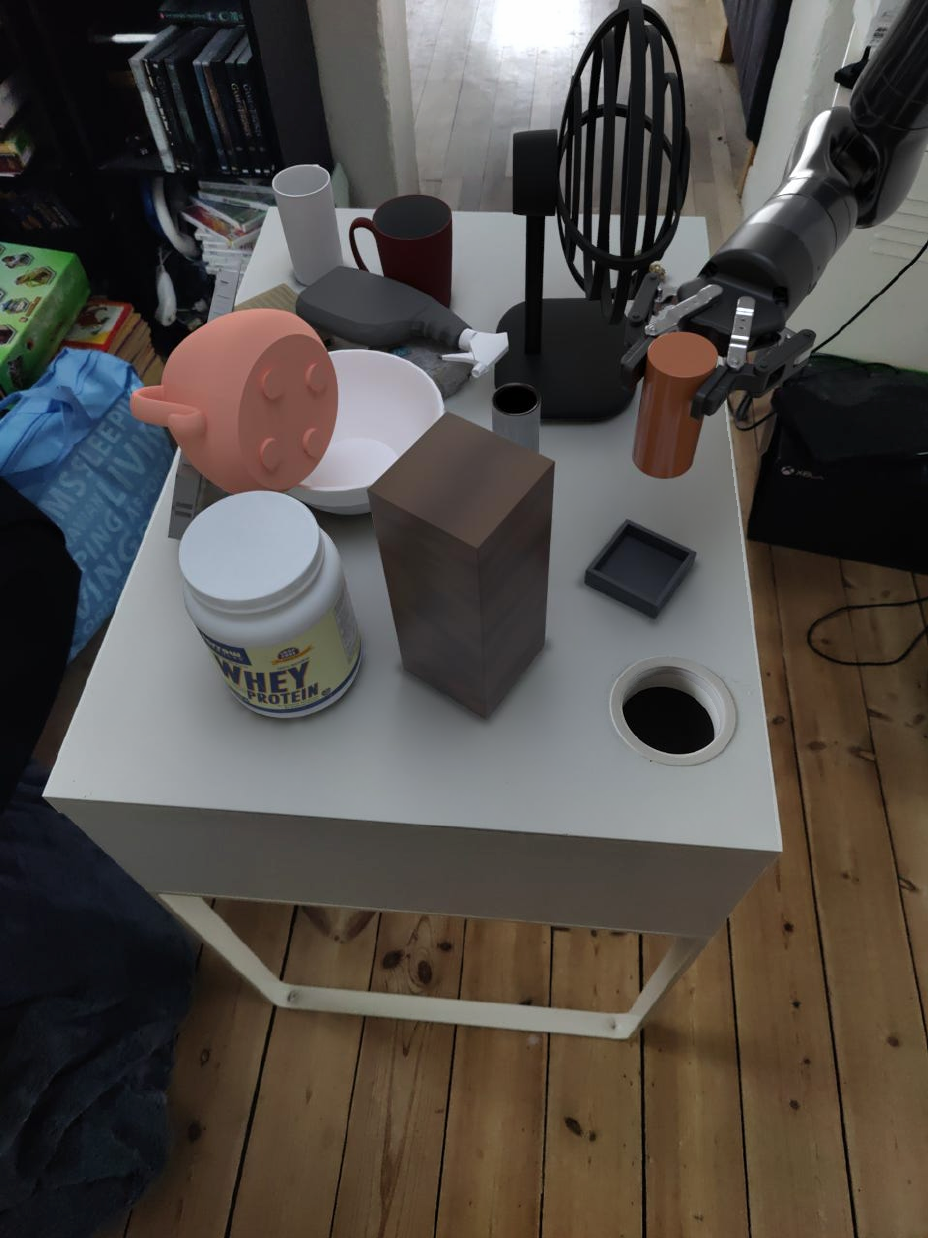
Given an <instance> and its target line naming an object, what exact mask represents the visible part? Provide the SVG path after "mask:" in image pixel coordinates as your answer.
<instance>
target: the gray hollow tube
mask: <svg viewBox="0 0 928 1238" xmlns="http://www.w3.org/2000/svg"><path fill="white" fill-rule="evenodd" d="M494 391H495V392H493V394H492V396H491V427H492V430H491V431H492V432H494V433H496V434H498V435H500V436H503V437H505V438H507V439H509V440H511V441H513V442H515V443H518V444H520V445H522V446H524V447H526V448H528V449H530V450H533V451H535V452H537V453H539V454H540V433H541V420H540V408H541V398H540V395H539V393H538V391H537V390H536V389H534V388H533V387H531V386H529V385H527V384H523V383H511V384H507V385H504V386H502V387H500V388H499V389H497V390H496V389H495V390H494Z"/></svg>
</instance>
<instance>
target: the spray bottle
mask: <svg viewBox="0 0 928 1238" xmlns="http://www.w3.org/2000/svg"><path fill="white" fill-rule="evenodd" d="M298 295H299V296H298V298H297V300H296V304H295V308H296V314H297V316H298V317H300V318H301V319H302V320H304V321H305V322H306V323H308V324H309V325H310V326H312V327H314V328H316V329H319V330H321V331H323V332H326V333H328V334H331V335H332V336H333V337H336V338H338V339H340V340H343V341H346V342H348V343H351V344H354V345H359V346H363V347H368V348H370V347H372V346H385V345H391V344H394V343H398V342H402V341H404V340H407V339H410V338H412V337H415V336H423V337H425V338H426V339H428V340H430V339H434V340H435V341H436V342H438V343H439V344H447V345H448V346H449V347H450V348H451V350H452V351H459V350H460V349H463V350H466V351H469V353H461V354H449V355H442V360H449V361H461V362H467V363H471V364H473V365H474V368H473V370H472V372H471V376H472V377H473V378H476V379H478V378H480V377H481V376H482V375H483V374H484V373H488V372H489V371H490V370H491V369H492V368H493V367H494V365H495V364H496V363H497V362H498V360H499V359H500V358H501V357H502V356H503V355H504V354H505V353H506V352H507V351H508V338H507V332H505V333H499V334H496V333H489V332H484V331H476V330H473V326H471V325H469V323H467V322H466V321H464V320H463V319H462V318H461V317H460V316H459V315H457V314H456V313H455V312H453V311H451V310H450V309H449V308H448V309H447V308H446V307H444V306H443V305H441V304H440V303H439V302H437V301H436V300H435V299H434V298H432V297H431V296H429V295H427V294H425V293H423V292H421V291H419V290H417V289H415V288H413V287H411V286H408V285H406V284H403V283H400V282H398V281H395V280H393V279H390V278H387V277H384V276H383V275H381V274H377V273H374V272H371V271H370V272H367V271H364V270H360V269H359V268H358V267H350V266H345V265H344V266H337V267H335V268H334V269H332V270H331V271H330V272H328V273H327V274H325V275H324V276H323V277H321V278H320V279H318V280H317V281H316V282H314V283H313V284H311V285H310V286H306V288H304V289H303V290H302V291H300V293H299V294H298Z"/></svg>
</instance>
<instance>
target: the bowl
mask: <svg viewBox="0 0 928 1238" xmlns="http://www.w3.org/2000/svg"><path fill="white" fill-rule="evenodd" d="M327 352H328V354H329V356H330V358H331V360H332V363H333V366H334V369H335V373H336V377H337V384H338V411H337V418H336V424H335V428H334V432H333V435H332V438H331V441H330V443H329V446H328V448H327V450H326V452H325V454H324V456H323V458H322V460H321V461H320V463H319V464H318V466H317V467H316V468H315V469H314V471H313V472H312V473H311V474H310V475H309V476H308V477H307V478H306V479H304V480H303V481H302V482H300V483H299V484H298V485H296V486H295V487H293V488H291V489H290V490H288V491H286V492H285V493H284V494H286V495H288V496H290V497H293V498H295V499H296V500H298V501H300V502H301V503H303V504H306V505H308V506H310V507H312V508H314V509H317V510H320V511H324V512H327V513H333V514H337V515H344V516H355V515H363V514H367V513H371V508H370V503H369V498H368V493H367V489H368V488H369V487H370V486H371V485H372V484H373V483H374V482H375V481H376V480H377V479H378V478H379V477H380V476H381V475H382V474H383V473H384V472H385V471H386V470H387V469H388V468H389V467H390V466H391V465H392V464H393V463H395V462H396V461H397V460H398V459H399V458H400V457H401V456H402V455H403V454H404V453H405V452H406V451H407V450H408V449H409V448H410V447H411V446H412V445H413V444H414V443H415V442H416V441H417V440H418V439H419V438H420V437H421V436H422V435H423V434H424V433H425V432H426V431H427V430H428V429H429V428H430V427H431V426H432V425H433V424H434V423H435V422H436V421H437V420H438V419H439V418H440V417H441V416H442V415H443V414H444V413H445V404H444V399H442V396H441V393H440V391H439V390H438V388H437V386H436V384H435V383H434V381H433V380H432V379H431V378H430V377H429V376H428V375H427V374H426V373H425V372H424V371H423V370H422V369H421V368H419V367H418V366H416V365H414V364H413V363H411V362H410V361H408V360H405V359H403V358H400V357H398V356H396V355H392V354H388V353H384V352H380V351H372V350H367V349H361V348H360V349H359V348H357V349H339V350H338V349H337V350H333V351H327Z"/></svg>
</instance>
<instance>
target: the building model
mask: <svg viewBox="0 0 928 1238" xmlns="http://www.w3.org/2000/svg"><path fill="white" fill-rule="evenodd" d="M243 255H244V252H240V254H239V258H238V259H239V260H238V264H237V268H236V272H235V271H230V270H228V269H227V270H226V269H223V268H218V271H217V276H216V281H215V285H214V290H213V295H212V299H211V303H210V308H209V312H208V316H207V317H208V318H207V322H206V324H207V323H209V322H210V321H212V320H214V319H216V318H218V317H220V316H223V315H226V314H229V313H233V311H234V306H236V305H235V304H236V298H237V293H238V287H239V286H238V285H239V281H240V275H241V269H242V263H243ZM179 453H180V454H179V459H178V463H177V468H176V472H175V478H174V484H173V485H174V486H173V493H172V502H171V509H170V510H171V511H170V516H169V517H170V518H169V526H168V534H167V538H168V539H173V540H177V541H181V539H182V537H183V535H184V533H185V531H186V529H187V528H188V526H189V525H190V523H191V522H192V521H193V520H194V519H195V518H196V515H197V509H198V503H199V500H200V496H201V495H200V494H201V489H202V484H203V479H204V476H203V475H202V474H201V473H200V472H199V471H198V470H197V469H196V468H195V467H194V466H193V465H192V464H191V463H190V461H189V460H188V459H187V458H186V456H185V455H184V453H183V452H182V451H181V450H180V452H179Z"/></svg>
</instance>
